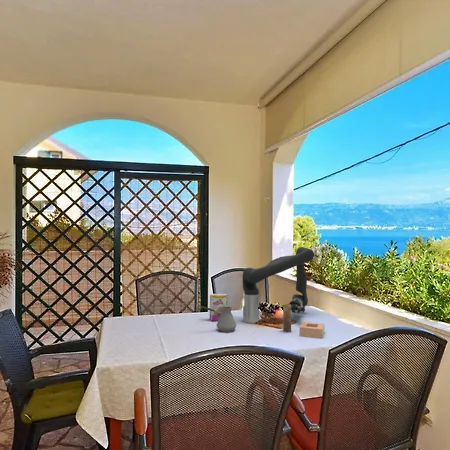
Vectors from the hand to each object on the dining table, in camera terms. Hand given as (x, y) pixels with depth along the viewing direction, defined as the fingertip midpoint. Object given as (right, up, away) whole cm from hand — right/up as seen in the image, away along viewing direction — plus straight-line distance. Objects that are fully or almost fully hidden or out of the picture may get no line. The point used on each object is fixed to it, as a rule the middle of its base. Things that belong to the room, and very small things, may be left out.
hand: (290, 310), depth 223 cm
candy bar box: (-43, -9, +13) cm, 46 cm away
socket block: (+9, -9, -16) cm, 20 cm away
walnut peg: (-4, -9, -10) cm, 14 cm away
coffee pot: (-43, -9, -10) cm, 45 cm away
